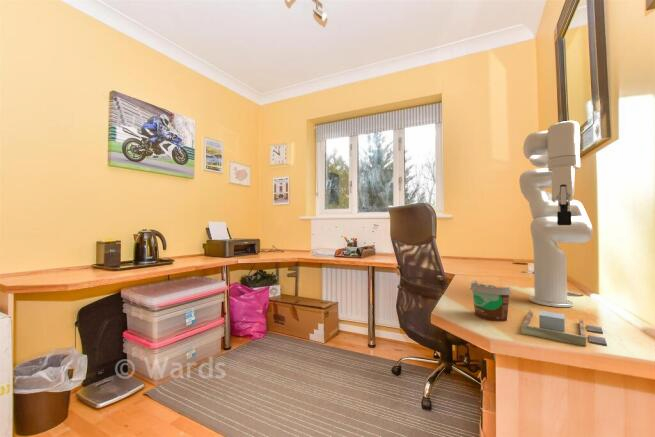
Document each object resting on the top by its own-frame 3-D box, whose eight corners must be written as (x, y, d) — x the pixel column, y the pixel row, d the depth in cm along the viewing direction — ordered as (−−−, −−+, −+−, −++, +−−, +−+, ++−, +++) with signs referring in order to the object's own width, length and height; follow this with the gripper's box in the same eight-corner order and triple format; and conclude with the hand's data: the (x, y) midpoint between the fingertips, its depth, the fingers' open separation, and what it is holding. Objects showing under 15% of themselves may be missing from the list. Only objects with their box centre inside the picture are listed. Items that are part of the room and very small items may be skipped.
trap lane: (529, 315, 91) (529, 308, 91) (600, 326, 80) (600, 319, 80) (521, 333, 75) (521, 325, 75) (608, 350, 65) (608, 341, 65)
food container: (461, 313, 93) (461, 281, 93) (475, 310, 95) (474, 280, 96) (497, 325, 82) (496, 289, 82) (511, 322, 84) (511, 287, 84)
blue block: (541, 329, 78) (540, 310, 79) (565, 333, 75) (564, 314, 75) (539, 334, 75) (539, 314, 75) (564, 339, 71) (564, 319, 72)
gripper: (549, 169, 95) (550, 224, 95) (545, 162, 84) (546, 225, 84) (579, 166, 90) (580, 225, 90) (580, 158, 79) (581, 225, 79)
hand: (564, 225), depth 87 cm, fingers closed
